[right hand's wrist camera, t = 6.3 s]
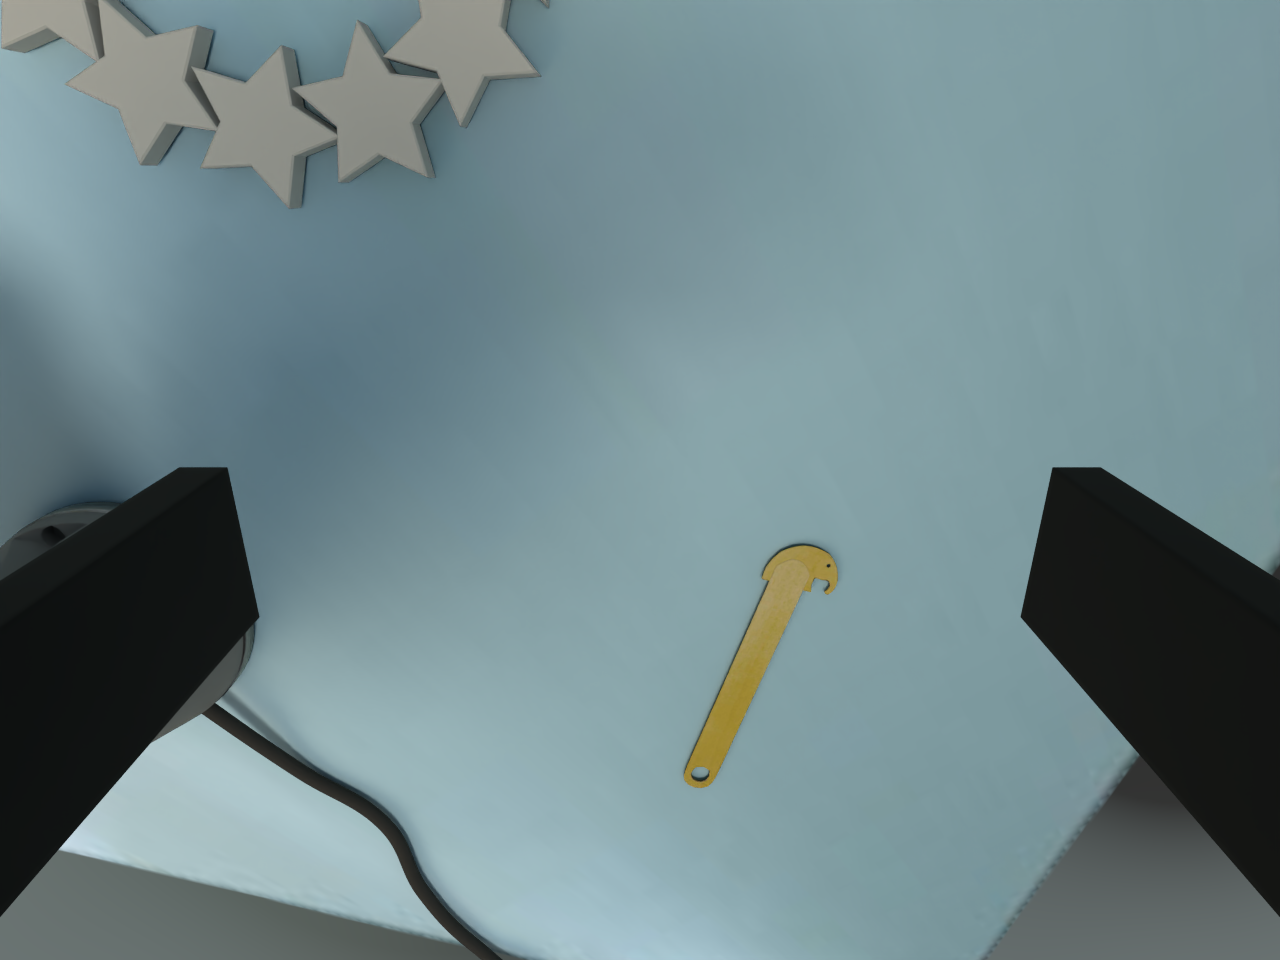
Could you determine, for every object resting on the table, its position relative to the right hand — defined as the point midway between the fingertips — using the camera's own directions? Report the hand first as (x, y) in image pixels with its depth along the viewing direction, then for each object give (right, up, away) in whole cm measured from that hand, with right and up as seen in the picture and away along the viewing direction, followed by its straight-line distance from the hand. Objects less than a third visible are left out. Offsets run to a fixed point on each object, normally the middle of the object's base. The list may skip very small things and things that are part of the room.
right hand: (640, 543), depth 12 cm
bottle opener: (+8, -12, +38) cm, 40 cm away
